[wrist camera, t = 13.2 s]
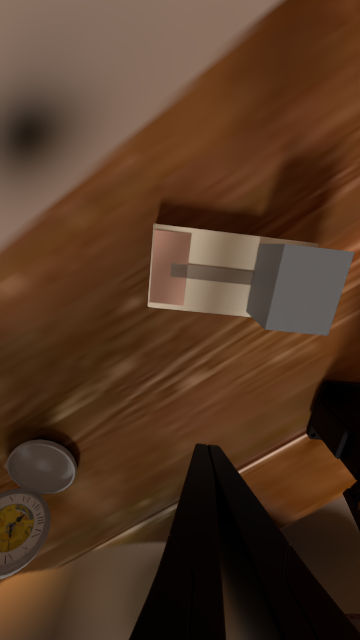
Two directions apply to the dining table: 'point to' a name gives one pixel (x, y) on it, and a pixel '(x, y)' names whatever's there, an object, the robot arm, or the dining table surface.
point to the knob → (297, 287)
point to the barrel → (354, 620)
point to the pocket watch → (31, 500)
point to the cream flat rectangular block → (204, 269)
